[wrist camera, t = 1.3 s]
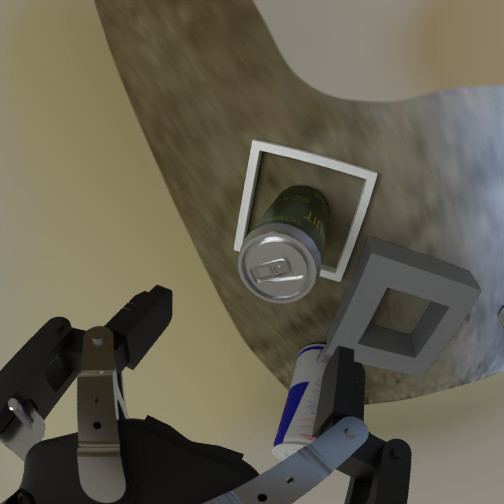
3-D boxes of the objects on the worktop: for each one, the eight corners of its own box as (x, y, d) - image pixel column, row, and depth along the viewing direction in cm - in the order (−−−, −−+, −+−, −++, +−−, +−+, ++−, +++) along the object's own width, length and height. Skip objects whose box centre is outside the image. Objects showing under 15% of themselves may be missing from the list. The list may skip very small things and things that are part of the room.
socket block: (469, 271, 25) (481, 290, 21) (418, 354, 31) (421, 377, 28) (367, 235, 27) (371, 253, 23) (328, 330, 33) (325, 354, 30)
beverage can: (302, 337, 35) (275, 440, 22) (345, 345, 34) (333, 451, 21) (295, 365, 37) (267, 460, 25) (334, 373, 36) (318, 470, 23)
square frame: (376, 171, 24) (377, 173, 23) (340, 276, 30) (340, 282, 29) (256, 139, 26) (252, 140, 25) (237, 245, 32) (233, 249, 31)
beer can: (287, 241, 30) (254, 312, 20) (267, 193, 28) (220, 243, 18) (336, 227, 28) (331, 297, 17) (318, 176, 26) (302, 217, 16)
